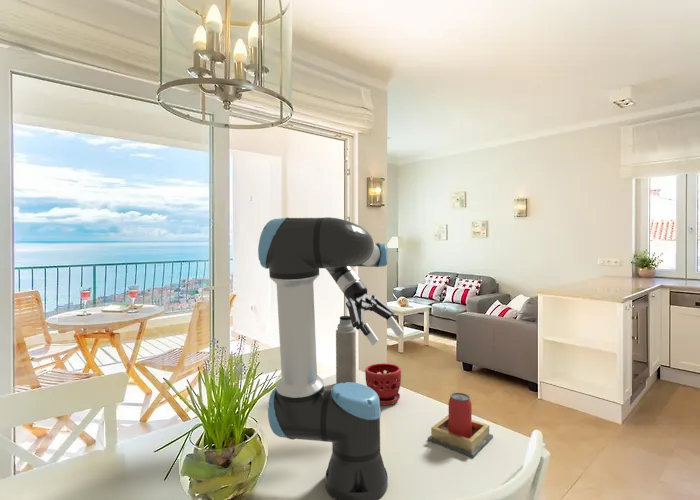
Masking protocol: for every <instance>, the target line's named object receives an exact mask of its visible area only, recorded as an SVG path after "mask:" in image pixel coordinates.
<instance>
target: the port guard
mask: <svg viewBox="0 0 700 500" xmlns="http://www.w3.org/2000/svg"><path fill="white" fill-rule="evenodd" d="M430 430H431V435H429V436H428V437H427V441H428V442H430V443H433V444H435V445H439V446H441V447H444V448H446V449H448V450H452V451H453V452H456V453H459V454H462V455H464V456H468V457H469V458H472V459H474V458H475V457H476V456H477V455H478V454H479V453H480V452H481V451H482V450H483V448H485V446H486V445H488V443H489V442H491V441H492V439H494V435H493V434H490V425H489V424H486V423H484V422H480V421H476V420H474V419H472V435H471V438H470V439H469V438H466V437H463V436H460V435H457V434H454V433H451V432H449V414H447V415H446V416H445V417H444V418H442V419H441V420H440V421H439V422H437V423H436V424H434V425H433V426H432V427H431V428H430Z"/></svg>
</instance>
